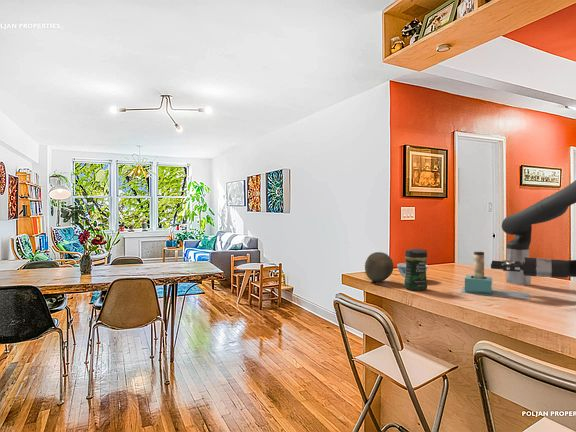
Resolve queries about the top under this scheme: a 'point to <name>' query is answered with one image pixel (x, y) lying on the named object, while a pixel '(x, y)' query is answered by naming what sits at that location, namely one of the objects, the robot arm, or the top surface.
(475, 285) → the teal open box
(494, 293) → the board
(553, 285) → the top surface
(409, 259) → the coffee jar
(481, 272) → the dowel
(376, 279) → the dark grey ball
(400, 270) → the chinaware
